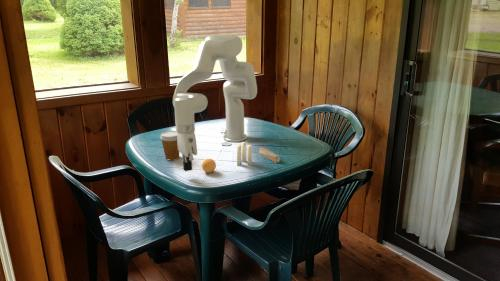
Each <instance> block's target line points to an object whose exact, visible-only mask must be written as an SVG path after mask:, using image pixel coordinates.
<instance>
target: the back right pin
mask: <svg viewBox="0 0 500 281" xmlns="http://www.w3.org/2000/svg"><path fill="white" fill-rule="evenodd" d="M246 155H247V166H251V167H252V166H253V146H252V144H247V145H246Z"/></svg>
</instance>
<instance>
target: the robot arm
mask: <svg viewBox="0 0 500 281" xmlns="http://www.w3.org/2000/svg"><path fill="white" fill-rule="evenodd" d="M242 50H243V41H242V38H241V37H240V36H237V35H224V34H223V35H222V34H221V35H219V34H218V35H217V34H212V35H211V34H210V35H207V37H205V39H204V41H202V42H201V43H200V45H199V48H198V51H197V53H196V57H195V59H194V63H193V66H192V68H191V70H190V71H188V72H187V73H186V74H185V75H184V76H182V77H181V78H180V79H179V81H178V82H177V84H176V87H175V90H174V93H173V96H172V105H173V109H174V121H175V122H174V124H175V131H176V132H177V144H178V151H179V154H181V158H182V166H183V171H185V172H189V171H192V170H193V160H194V156H197V155H198V148H197V147H198V146H197V139H196V133H195V132H196V129H195V128H196V127H195V114H196V113H200V112H203V111H205V110H206V108H207V106H208V102H209V101H208V98H207V96H206V95H204V94H203V93H196V92H195V93H194V92H188V90H189V89H190V88H191V87H193V86H194V85H196V84H197V85H198V84H199V83H201V82H204V81H206V80H208V79H210V78H211V77H212V75H213V71H214V69H215V65H216V63H217V61H218V62H219V66H220V70H221V73H222V77H223V78H224V79H225V80H226V81H225V82H223V86H222V90H223V91H222V92H223V96H224V102H225V104H224V105H225V127H226V128H221V129H220V134H224V135H223V140H224V141H226V142H231V143H232V142H233V143H238V142H245V141H246V140H248V135H247V134H245V107H244V103H243V101H242V99H243V100H253V99H255V98H256V97H257V94H258V84H257V79H256V75H255V69H254V66H253V64H252V63H251V62H248V61H239V60H238V59H237V56H239V54H240V53H242Z"/></svg>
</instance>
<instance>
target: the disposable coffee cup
mask: <svg viewBox="0 0 500 281" xmlns="http://www.w3.org/2000/svg"><path fill="white" fill-rule="evenodd" d="M159 138H160V140H161V143H162V148H163V152H164V157H165V160H167V159H170V160H169V161H175V160H174V159H176V160H179V159H180V152H179V151H178V144H177V132H176V130H168V131H165V132H161V134H160V137H159Z"/></svg>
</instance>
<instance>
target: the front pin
mask: <svg viewBox="0 0 500 281" xmlns="http://www.w3.org/2000/svg"><path fill="white" fill-rule="evenodd" d="M242 163H243V162H242V144H241V145H239V144H238V145H236V165H237V166H239V167H240V166H242Z"/></svg>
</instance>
